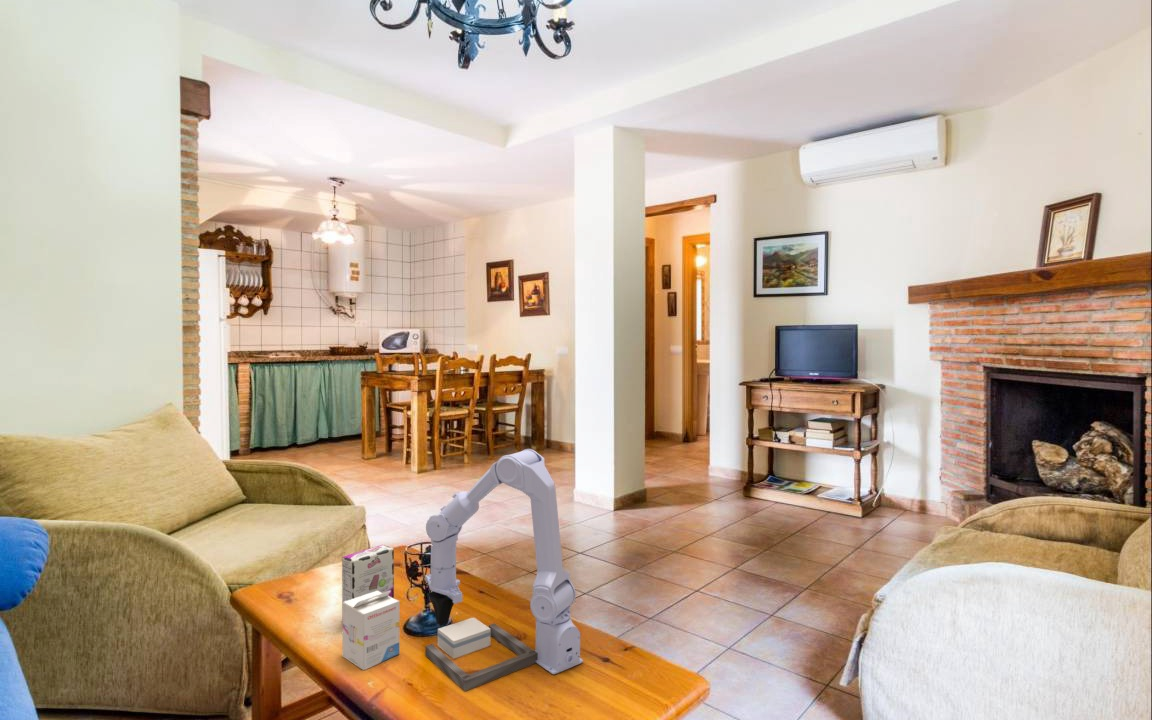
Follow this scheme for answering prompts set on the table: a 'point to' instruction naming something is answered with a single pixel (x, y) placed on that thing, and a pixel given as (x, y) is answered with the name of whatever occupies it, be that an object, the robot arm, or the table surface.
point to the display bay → (490, 673)
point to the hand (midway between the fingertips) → (442, 623)
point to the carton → (463, 637)
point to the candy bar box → (368, 573)
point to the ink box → (370, 629)
